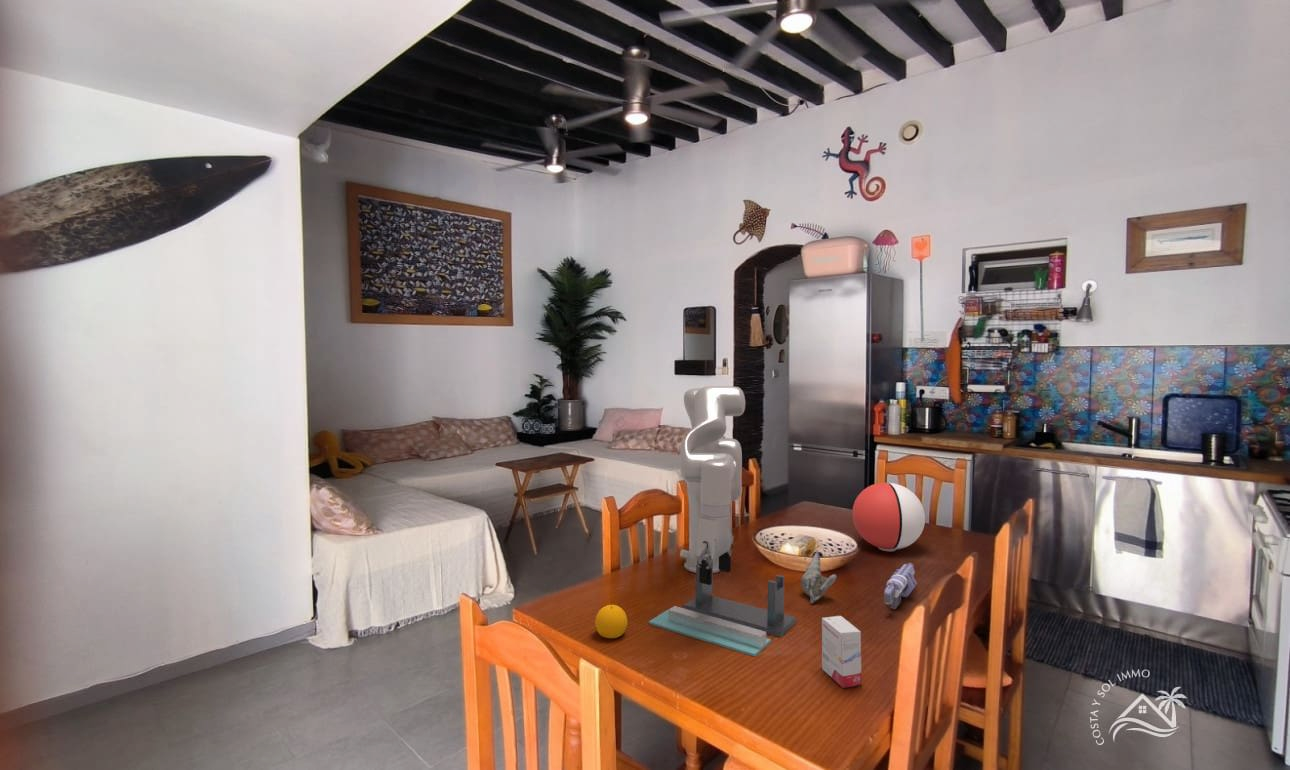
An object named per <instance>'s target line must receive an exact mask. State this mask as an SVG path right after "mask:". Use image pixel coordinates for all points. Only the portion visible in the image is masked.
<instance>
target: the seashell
mask: <svg viewBox="0 0 1290 770" xmlns="http://www.w3.org/2000/svg"><path fill="white" fill-rule="evenodd" d="M820 555H821V554H820V551H816V552H815V554H814V556H813V557H812V558H811V561H810V562H809V564H808V566H807V567H806V568H805V571H804V574H803V575H802V577H801V580H800V584H801V588H802V590H803V592H804V593H805V594H806V595H807V596H809V597H810V599H809V600H810V601H809V602H810V604H814V603H815V602H817V601H818V600H820V599H821V598H822V597H823V596H824V595H826V593H827V591H828V589H829V588H831V586H832V585H833V584H835V581H836V580H837V577H838V576H837V575H836V574H832V575H830V576H829V577H828V578H827V577H825V576H823V575H822V569H821V568H822V567H821V559H820V558H821V556H820Z"/></svg>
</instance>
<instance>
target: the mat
mask: <svg viewBox="0 0 1290 770" xmlns="http://www.w3.org/2000/svg"><path fill="white" fill-rule="evenodd" d="M668 610H669V609H667V610H665V611H663V612H662V613H660V614H658V615H657V616H655V617H654V618H653V619H651V620H649V621H648V625H651V626H654V627H659V628H661V629H664V630H667V631H670V632H673V633H678V634H681V635H684V636H687V637H689V638H693V639H697V640H700V641H703V642H706V643H710V644H712V645H715V646H719V647H722V648H726V649H728V650H731V651H736V652H739V653H742V654H744V655H749V656H751V657H753V658H754V657H757V655H759V654H760V653H761V652H763V650H764V649H765V648H766V647H767V646H768V645H769V644H770V643H771V642H772V639H771V638H767V637H766V645H765V646H764V647H762V648H761V649H759V648H756V647H752V646H749V645H746V644H743V643H739V642H736V641H733V640H729V639H726V638H723V637H719V636H716V635H713V634H709V633H706V632H703V631H700V630H696V629H693V628H690V627H686V626H683V625H680V624H676V623H673V622H670V621H668Z"/></svg>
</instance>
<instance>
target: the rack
mask: <svg viewBox="0 0 1290 770" xmlns="http://www.w3.org/2000/svg"><path fill="white" fill-rule="evenodd" d="M708 560H709V559H705V561H706V562H707V563H708ZM710 568H711V569H712V584H711V585H707V584H703V583H700V582H699V567H698V564H696V573H695V596H694V598H692V599H691V600H689V601H687V602H685V603H684V604H683V608H684V609H687V610H691V611H694V612H698V613H702V614H705V615H709V616H712V617H716V618H719V619H723V620H726V621H730V622H733V623H737V624H740V625H744V626H747V627H751V628H754V629H758V630H761V631H765V632H766V635H767V634H768V635H771V636H774V637H778V638H782V637H783V636H784V635H785V634H786V633H787V632H789V630H790V629H791V628H792V627H793V626H794V625H795V624H797V617H796V616H794V615H793V616H792V615H788V614H785V575H781V574H776V575H775V578H774V580H771V579H769V580H768V581H767V608H763V607H762V608H761V607H757V606H754V605H750V604H748V603H747V604H746V603H742V602H738V601H735V600H731V599H727V598H723V597H719V596H715V595H714V594H713V588H714V587H713V586H714V585H713V584H714V583H713V582H714V581H713V580H714V578H713V577H714V576H713V574H714V573H713V561H712V564H711V567H710Z"/></svg>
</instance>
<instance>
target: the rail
mask: <svg viewBox="0 0 1290 770" xmlns="http://www.w3.org/2000/svg"><path fill="white" fill-rule="evenodd" d="M667 610H668V621H670V622H673V623H676V624H680V625H683V626H686V627H690V628H693V629H696V630H700V631H703V632H706V633H709V634H713V635H716V636H719V637H723V638H726V639H729V640H733V641H736V642H739V643H743V644H746V645H749V646H752V647H756V648H759V649H761V648H762V647H764V646H765V645H766V638H767V633H766V632H765V631H761V630H758V629H754V628H751V627H747V626H744V625H740V624H737V623H733V622H730V621H726V620H723V619H719V618H716V617H712V616H709V615H705V614H702V613H698V612H694V611H691V610H687V609H684V607H680V606H676V605H674V606H672V607H670V608H669V609H667Z"/></svg>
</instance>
